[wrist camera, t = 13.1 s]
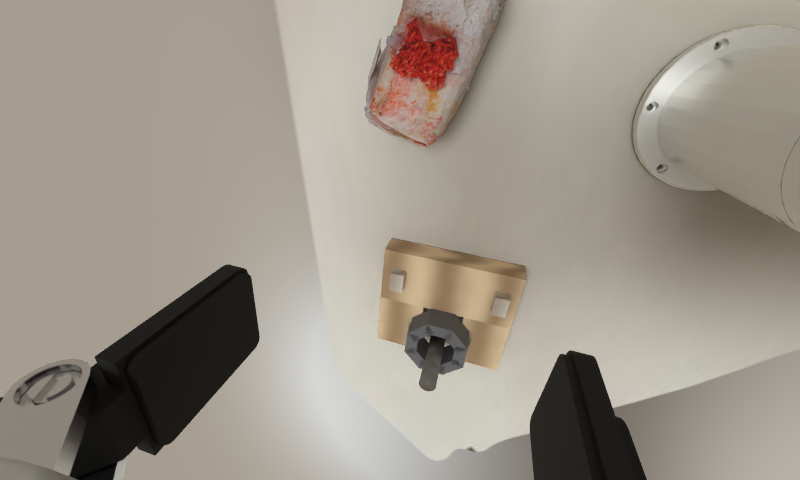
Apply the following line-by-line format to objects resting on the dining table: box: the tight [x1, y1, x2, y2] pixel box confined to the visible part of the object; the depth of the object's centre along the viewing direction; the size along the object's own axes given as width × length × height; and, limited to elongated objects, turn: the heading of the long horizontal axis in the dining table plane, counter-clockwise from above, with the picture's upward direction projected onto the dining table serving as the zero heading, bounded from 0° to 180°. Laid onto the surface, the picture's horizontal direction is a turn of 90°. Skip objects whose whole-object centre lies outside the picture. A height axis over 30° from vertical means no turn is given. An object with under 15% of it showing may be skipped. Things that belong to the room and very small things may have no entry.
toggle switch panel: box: [377, 238, 527, 391], centre depth 38 cm, size 16×14×11 cm
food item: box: [364, 0, 506, 146], centre depth 27 cm, size 14×8×10 cm, turn 159°
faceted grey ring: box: [405, 308, 470, 375], centre depth 41 cm, size 7×7×3 cm
